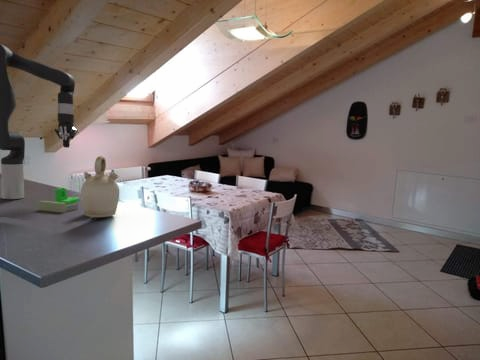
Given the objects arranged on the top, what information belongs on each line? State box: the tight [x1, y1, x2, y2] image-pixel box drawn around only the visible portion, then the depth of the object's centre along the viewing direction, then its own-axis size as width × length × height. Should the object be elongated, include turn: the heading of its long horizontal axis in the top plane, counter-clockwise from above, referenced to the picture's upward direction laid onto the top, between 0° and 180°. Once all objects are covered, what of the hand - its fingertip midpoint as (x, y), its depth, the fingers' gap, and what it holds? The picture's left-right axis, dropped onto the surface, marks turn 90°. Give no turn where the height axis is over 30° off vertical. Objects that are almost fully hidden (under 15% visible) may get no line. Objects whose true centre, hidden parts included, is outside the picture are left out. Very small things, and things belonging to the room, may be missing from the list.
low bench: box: [38, 200, 79, 214], centre depth 155 cm, size 13×9×4 cm
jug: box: [80, 155, 120, 218], centre depth 147 cm, size 15×16×25 cm
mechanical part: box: [55, 187, 80, 205], centre depth 172 cm, size 12×6×8 cm, turn 173°
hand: (66, 147), depth 178 cm, fingers closed
